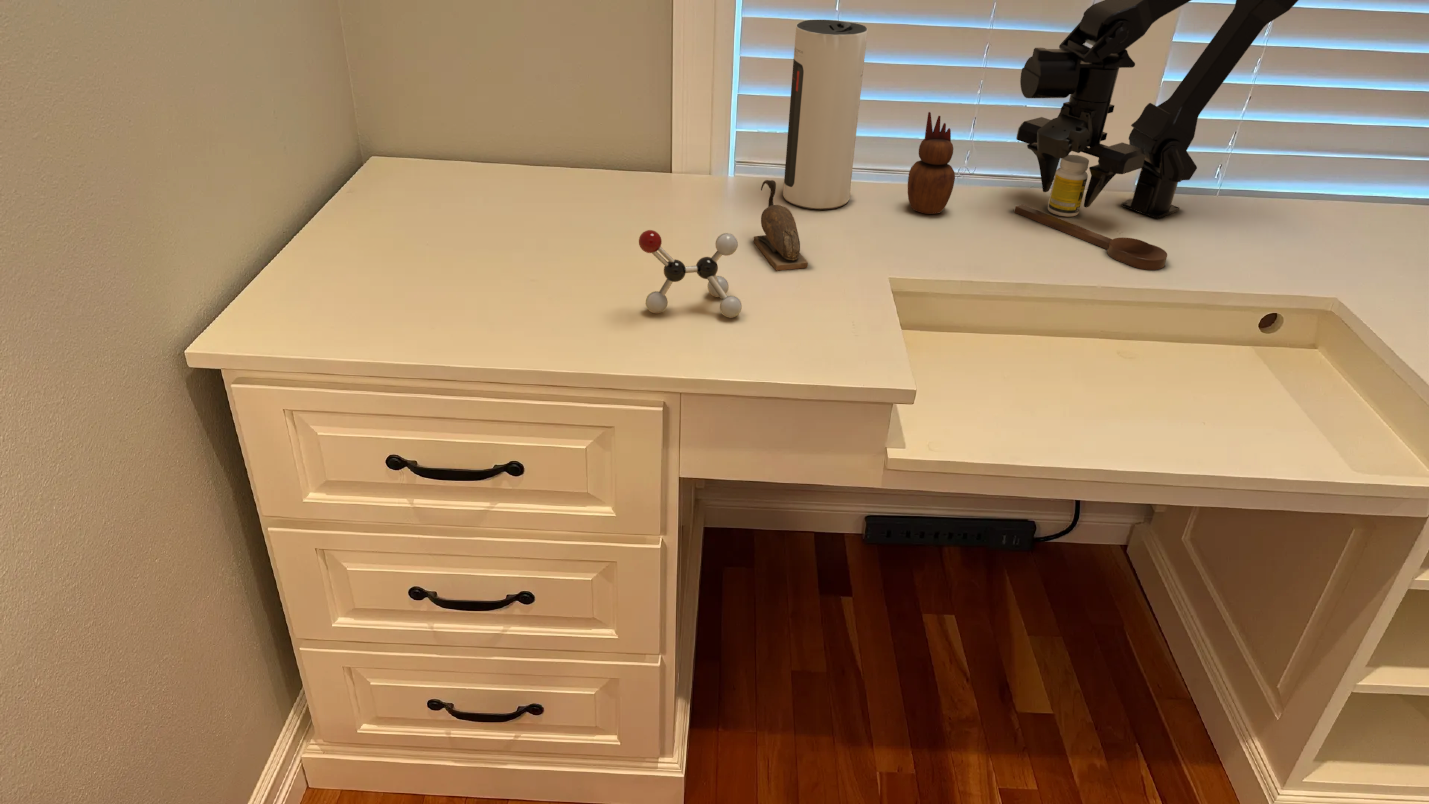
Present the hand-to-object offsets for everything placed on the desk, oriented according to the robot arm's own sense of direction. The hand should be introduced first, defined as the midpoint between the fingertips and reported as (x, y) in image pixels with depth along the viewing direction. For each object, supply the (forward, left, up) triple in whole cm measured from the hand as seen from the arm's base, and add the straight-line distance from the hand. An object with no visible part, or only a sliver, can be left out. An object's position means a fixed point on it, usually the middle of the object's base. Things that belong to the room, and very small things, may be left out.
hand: (1065, 199), depth 152 cm
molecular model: (+68, -6, -2) cm, 68 cm away
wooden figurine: (+18, -12, -2) cm, 22 cm away
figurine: (+47, -14, -2) cm, 49 cm away
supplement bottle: (0, 0, -2) cm, 2 cm away
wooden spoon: (+6, +8, -2) cm, 10 cm away
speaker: (+29, -25, -2) cm, 38 cm away
